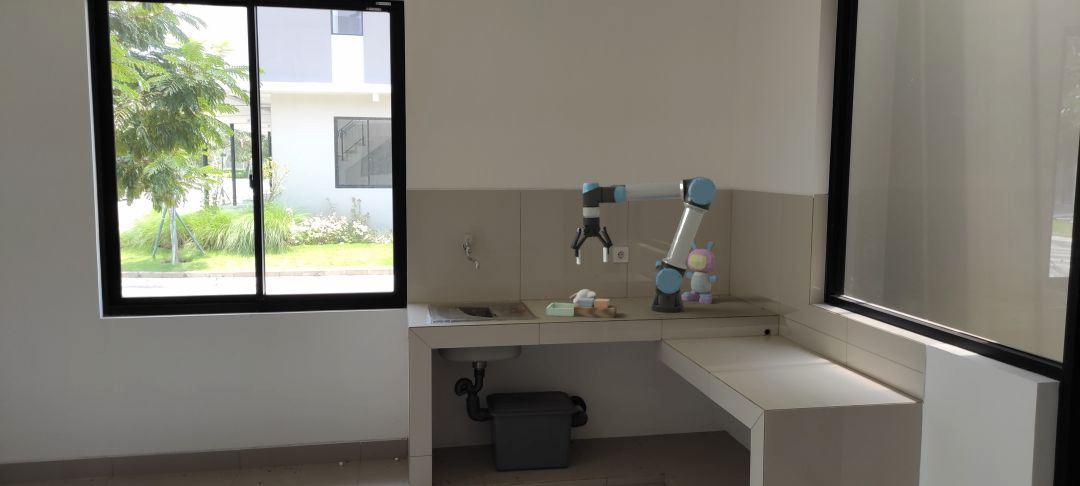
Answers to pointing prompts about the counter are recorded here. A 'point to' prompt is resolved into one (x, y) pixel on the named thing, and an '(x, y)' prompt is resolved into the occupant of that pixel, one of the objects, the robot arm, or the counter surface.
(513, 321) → the counter surface
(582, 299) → the tile
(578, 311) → the board
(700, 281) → the toy
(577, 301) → the toy
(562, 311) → the tray
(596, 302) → the tile
